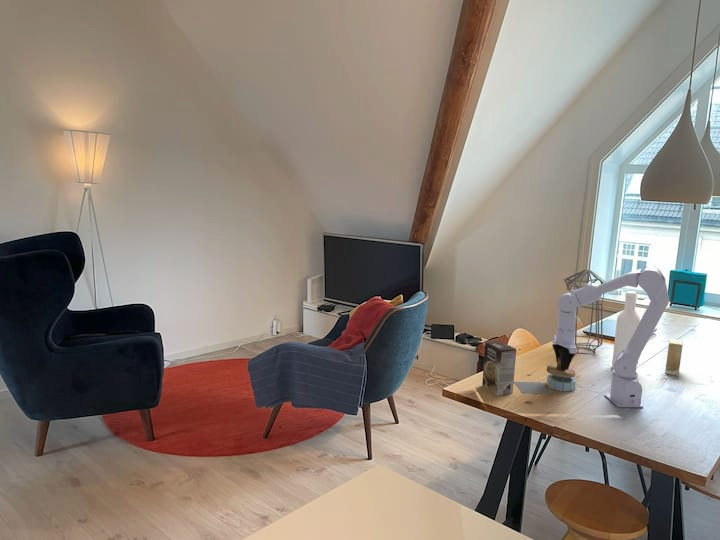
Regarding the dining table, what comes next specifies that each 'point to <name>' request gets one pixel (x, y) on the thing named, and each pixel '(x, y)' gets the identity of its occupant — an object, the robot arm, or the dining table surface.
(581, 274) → the geometric lantern
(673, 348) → the skincare box
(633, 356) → the robot arm
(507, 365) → the coffee box
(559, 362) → the lid
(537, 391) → the plate
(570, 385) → the bowl
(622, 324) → the bottle
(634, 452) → the dining table surface
